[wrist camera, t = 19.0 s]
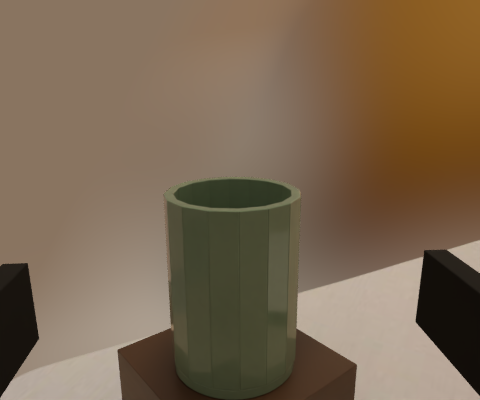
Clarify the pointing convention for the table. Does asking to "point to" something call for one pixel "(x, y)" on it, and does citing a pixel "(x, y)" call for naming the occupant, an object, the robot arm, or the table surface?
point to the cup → (233, 283)
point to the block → (285, 396)
